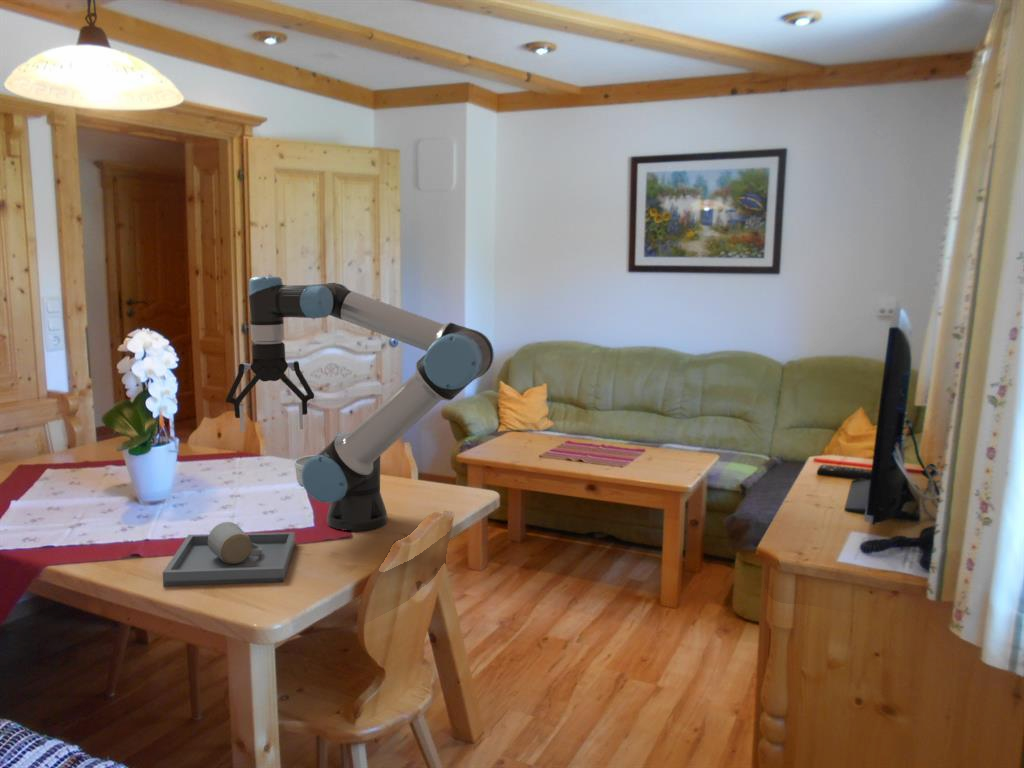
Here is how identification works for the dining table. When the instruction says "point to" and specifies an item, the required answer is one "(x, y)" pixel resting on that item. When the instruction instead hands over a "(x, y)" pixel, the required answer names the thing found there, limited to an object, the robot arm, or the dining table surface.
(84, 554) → the dining table surface
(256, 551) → the ceramic mug
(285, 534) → the slate tray
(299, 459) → the ramekin
